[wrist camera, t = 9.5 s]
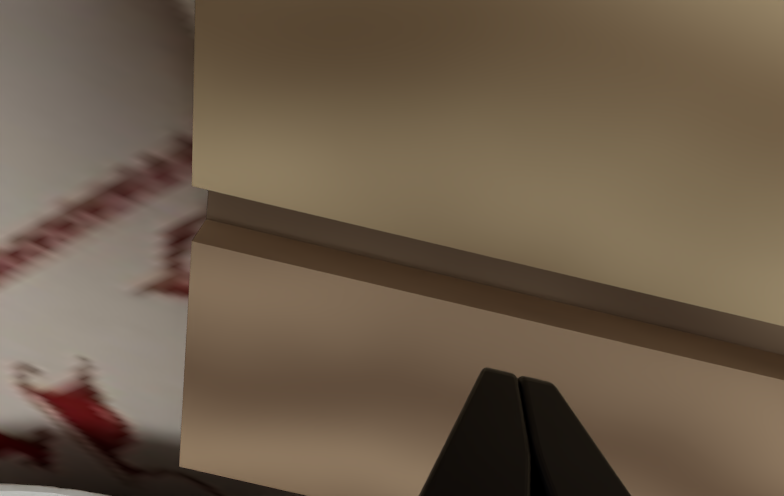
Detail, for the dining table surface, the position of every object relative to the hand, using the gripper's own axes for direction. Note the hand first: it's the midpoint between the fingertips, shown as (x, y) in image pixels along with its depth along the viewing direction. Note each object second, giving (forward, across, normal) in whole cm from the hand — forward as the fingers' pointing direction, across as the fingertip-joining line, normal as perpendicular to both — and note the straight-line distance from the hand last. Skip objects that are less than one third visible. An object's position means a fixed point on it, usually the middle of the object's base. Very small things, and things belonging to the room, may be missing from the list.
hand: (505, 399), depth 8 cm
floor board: (+8, -4, +8) cm, 12 cm away
